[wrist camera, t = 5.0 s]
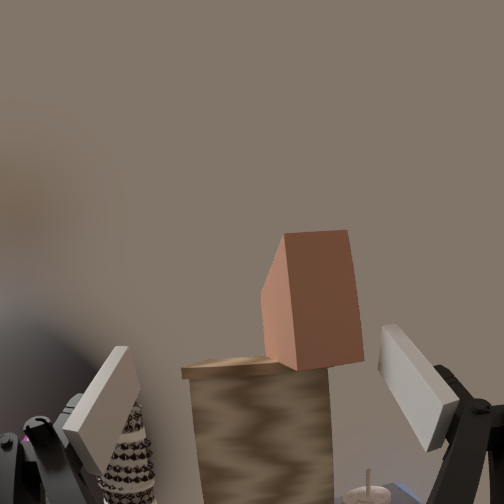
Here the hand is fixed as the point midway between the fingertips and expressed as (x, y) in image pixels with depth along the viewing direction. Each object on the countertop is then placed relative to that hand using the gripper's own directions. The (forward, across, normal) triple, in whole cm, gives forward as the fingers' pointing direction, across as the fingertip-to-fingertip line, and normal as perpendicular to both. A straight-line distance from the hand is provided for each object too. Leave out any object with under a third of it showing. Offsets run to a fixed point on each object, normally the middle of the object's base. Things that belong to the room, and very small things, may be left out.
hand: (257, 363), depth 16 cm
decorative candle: (+6, +20, +39) cm, 45 cm away
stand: (+1, 0, +36) cm, 36 cm away
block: (+12, -3, +8) cm, 14 cm away
